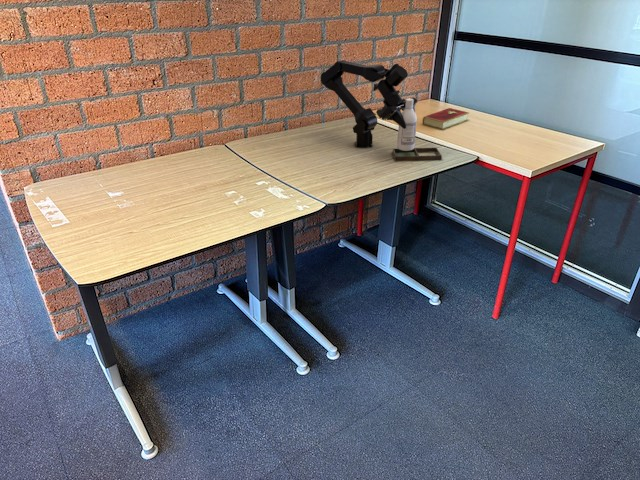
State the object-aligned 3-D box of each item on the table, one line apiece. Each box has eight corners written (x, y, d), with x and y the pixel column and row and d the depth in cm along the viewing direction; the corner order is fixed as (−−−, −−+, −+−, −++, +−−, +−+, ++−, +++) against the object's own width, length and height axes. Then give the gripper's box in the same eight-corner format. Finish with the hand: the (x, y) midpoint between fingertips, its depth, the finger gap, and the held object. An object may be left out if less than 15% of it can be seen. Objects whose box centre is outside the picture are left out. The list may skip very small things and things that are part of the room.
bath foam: (417, 149, 198) (422, 100, 188) (403, 152, 196) (407, 102, 185) (407, 144, 204) (411, 96, 193) (393, 147, 201) (397, 98, 191)
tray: (395, 161, 197) (396, 156, 196) (392, 152, 205) (392, 148, 204) (441, 159, 197) (441, 155, 196) (436, 151, 205) (436, 147, 205)
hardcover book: (422, 124, 237) (423, 115, 235) (448, 115, 249) (448, 107, 247) (442, 130, 229) (443, 121, 227) (468, 120, 241) (469, 111, 239)
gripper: (390, 100, 207) (410, 131, 206) (363, 110, 195) (384, 142, 194) (407, 84, 198) (428, 116, 197) (380, 93, 186) (402, 127, 186)
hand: (410, 126), depth 194 cm, fingers closed on bath foam, 7 cm apart
